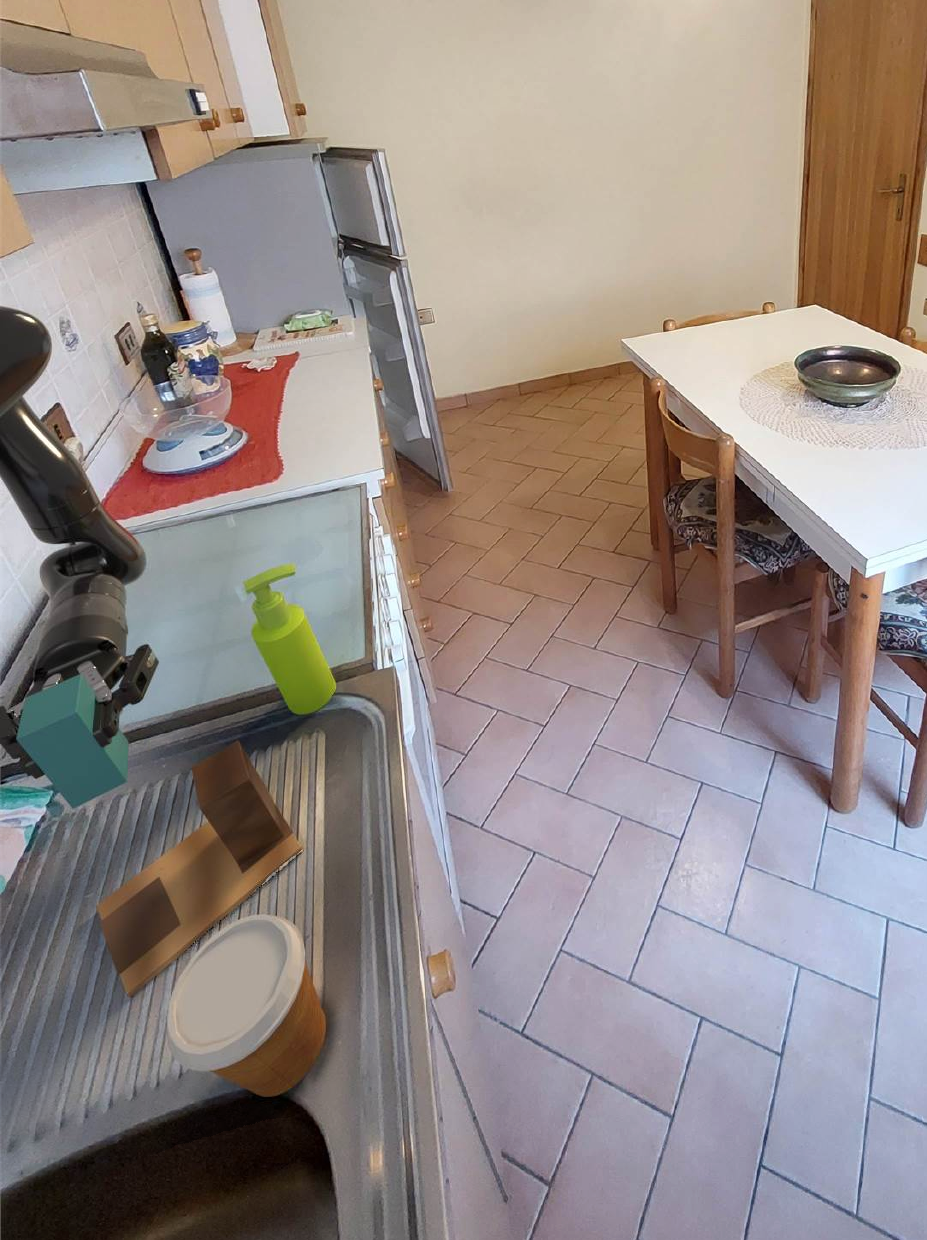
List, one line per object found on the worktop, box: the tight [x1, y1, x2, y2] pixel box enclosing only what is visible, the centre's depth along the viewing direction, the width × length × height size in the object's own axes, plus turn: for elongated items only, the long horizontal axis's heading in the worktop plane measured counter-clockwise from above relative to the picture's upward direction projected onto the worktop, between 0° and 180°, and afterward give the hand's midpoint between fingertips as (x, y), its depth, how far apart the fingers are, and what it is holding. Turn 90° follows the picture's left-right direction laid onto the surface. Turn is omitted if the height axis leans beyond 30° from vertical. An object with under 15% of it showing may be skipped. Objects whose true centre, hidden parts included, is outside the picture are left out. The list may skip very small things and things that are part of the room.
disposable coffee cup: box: [166, 914, 327, 1098], centre depth 54 cm, size 10×10×12 cm
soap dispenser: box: [243, 563, 337, 716], centre depth 84 cm, size 6×7×20 cm
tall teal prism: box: [16, 674, 130, 810], centre depth 64 cm, size 4×6×10 cm
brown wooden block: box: [190, 740, 284, 865], centre depth 70 cm, size 4×6×10 cm
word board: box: [95, 802, 303, 998], centre depth 69 cm, size 16×11×1 cm
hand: (69, 754), depth 62 cm, fingers closed on tall teal prism, 4 cm apart
